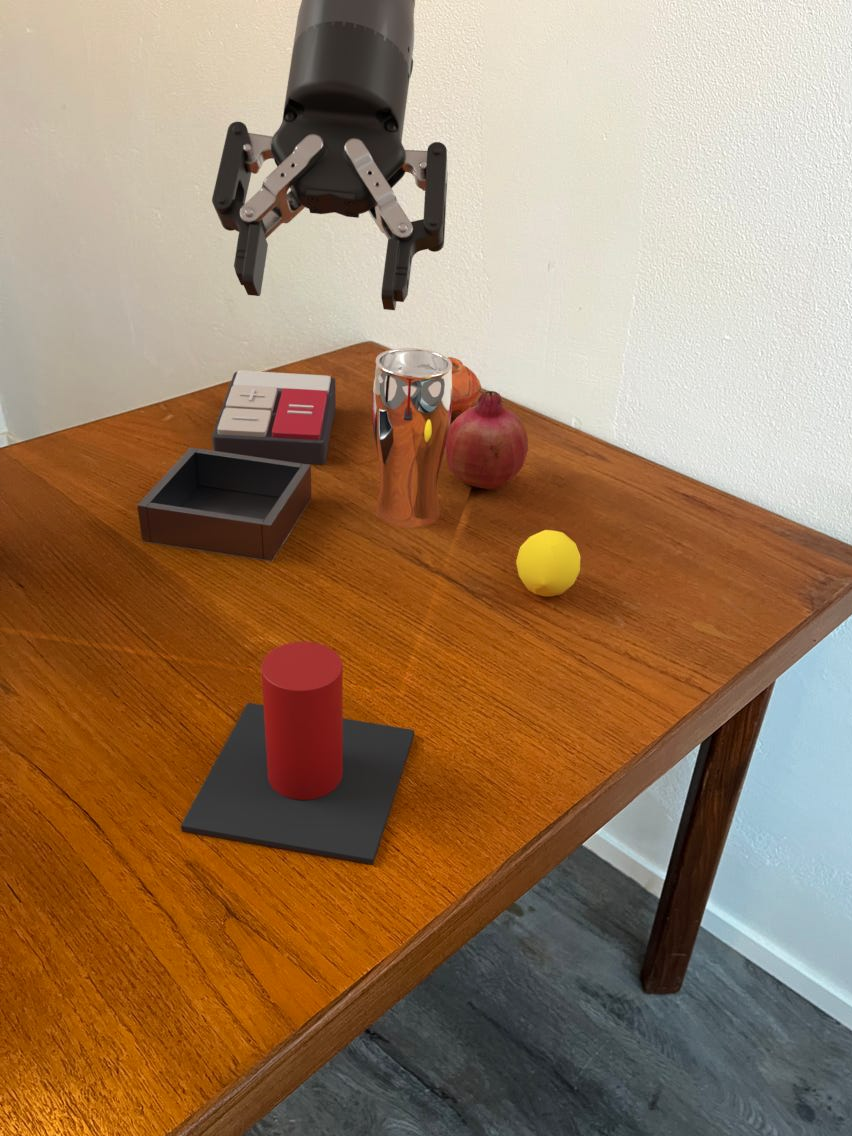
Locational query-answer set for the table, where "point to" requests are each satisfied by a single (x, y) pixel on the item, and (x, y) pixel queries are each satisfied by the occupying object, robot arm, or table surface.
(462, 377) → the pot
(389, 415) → the beer glass
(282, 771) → the canister
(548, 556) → the lemon
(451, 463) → the fruit
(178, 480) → the bin
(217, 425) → the calculator
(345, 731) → the mat
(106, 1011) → the table surface
